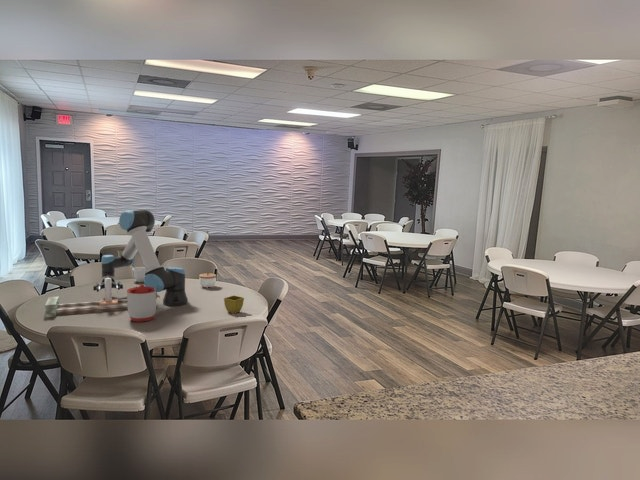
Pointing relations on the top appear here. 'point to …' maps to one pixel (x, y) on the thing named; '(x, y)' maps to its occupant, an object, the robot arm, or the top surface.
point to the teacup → (139, 273)
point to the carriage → (108, 295)
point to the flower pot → (233, 303)
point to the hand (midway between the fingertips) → (108, 290)
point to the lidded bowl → (207, 279)
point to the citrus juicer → (141, 303)
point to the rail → (79, 307)
